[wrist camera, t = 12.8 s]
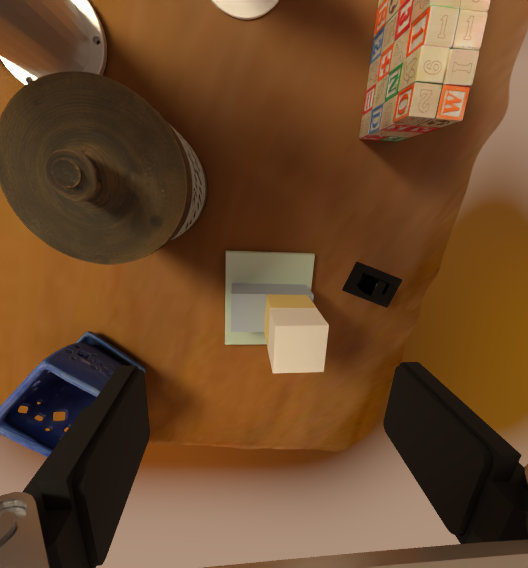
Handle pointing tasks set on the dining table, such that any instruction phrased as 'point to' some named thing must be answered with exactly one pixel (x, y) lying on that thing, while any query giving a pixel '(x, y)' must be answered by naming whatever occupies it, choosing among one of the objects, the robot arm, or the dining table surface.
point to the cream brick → (297, 340)
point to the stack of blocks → (421, 66)
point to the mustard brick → (284, 306)
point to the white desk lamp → (245, 7)
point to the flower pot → (60, 391)
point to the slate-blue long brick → (257, 303)
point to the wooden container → (97, 169)
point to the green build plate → (262, 280)
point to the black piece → (372, 284)
